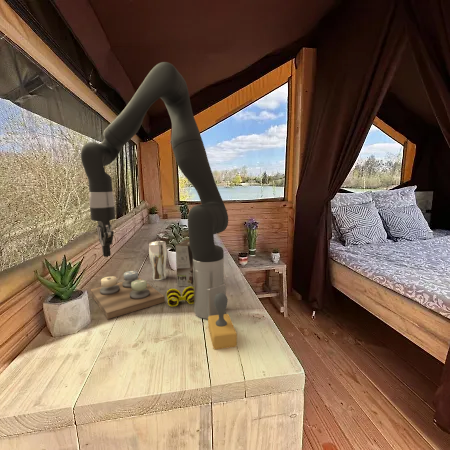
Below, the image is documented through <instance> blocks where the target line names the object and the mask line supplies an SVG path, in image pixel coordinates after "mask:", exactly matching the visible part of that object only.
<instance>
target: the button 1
mask: <svg viewBox="0 0 450 450" xmlns="http://www.w3.org/2000/svg"><path fill="white" fill-rule="evenodd" d="M117 283H118V279H117V277H116V276H113V275H111V276H105V277H103V278H101V279H100V284H101V286H100V287H111V286H114V285H116V284H117Z"/></svg>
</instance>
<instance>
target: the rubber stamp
mask: <svg viewBox="0 0 450 450" xmlns="http://www.w3.org/2000/svg"><path fill="white" fill-rule="evenodd" d="M214 305H215V308H216V310H217V312H218V315H213V316H209V317H208V319H207V321H208V322H207V325H208V327H207V328H208V332H209V336H210V340H211V345H212V348H213V349H214V350H220V349H228V348H236V347H237V345H238V344H237V343H238V342H237V341H238V340H237V339H238V337H237V334H238V333H237V331H236V329H235V326H234V324H233V321H232V319H231V316H230V315H229V314H228V313H226V314H224V312H225V310H226V311H227V307H228V296H227V294H226V295H225V294H224V293H218V294H217V295H216V296H215V299H214Z"/></svg>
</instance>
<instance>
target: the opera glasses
mask: <svg viewBox="0 0 450 450" xmlns="http://www.w3.org/2000/svg"><path fill="white" fill-rule="evenodd" d="M166 299H167V304H168V306H169V307H171V308H173V307H177V306H178V305H179V302H181V301H186V302H187V304H189V305H194V286H193V287H192V286H189V287H184V289H183V290H182V293H181V292H180V290H178V289H177V288H170V289H168V290H167V291H166Z"/></svg>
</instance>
